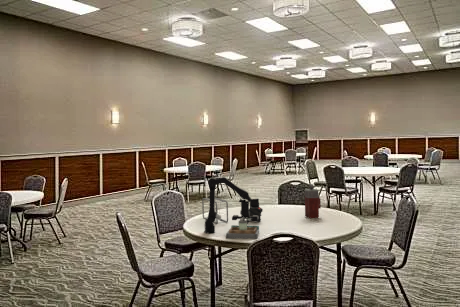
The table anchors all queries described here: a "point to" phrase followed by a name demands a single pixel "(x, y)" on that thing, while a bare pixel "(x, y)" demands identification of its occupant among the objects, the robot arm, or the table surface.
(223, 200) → the newton's cradle
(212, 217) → the robot arm
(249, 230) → the tray
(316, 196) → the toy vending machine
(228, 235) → the grey shallow box
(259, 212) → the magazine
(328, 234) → the table surface
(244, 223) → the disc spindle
